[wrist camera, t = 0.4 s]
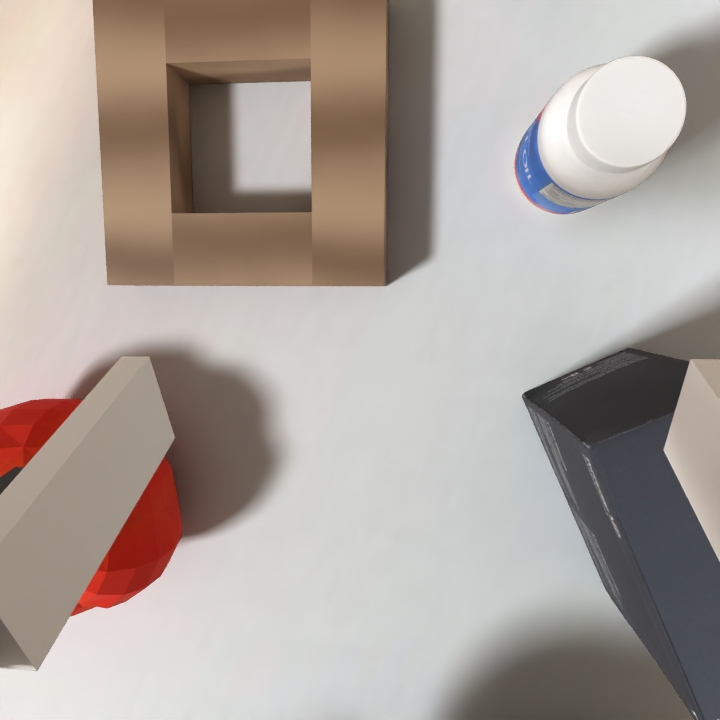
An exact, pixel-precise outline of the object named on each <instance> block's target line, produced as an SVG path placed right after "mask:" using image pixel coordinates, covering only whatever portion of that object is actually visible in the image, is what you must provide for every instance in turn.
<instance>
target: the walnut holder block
mask: <svg viewBox="0 0 720 720" xmlns="http://www.w3.org/2000/svg"><path fill="white" fill-rule="evenodd" d="M93 16H94V35H95V54H96V74H97V93H98V112H99V131H100V150H101V170H102V189H103V208H104V227H105V247H106V266H107V285H179V286H386V274H387V166H388V59H389V0H93ZM290 81H311V165H312V212H279V213H193V191H192V161H191V130H190V100H189V85H191V84H224V83H257V82H290Z"/></svg>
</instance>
